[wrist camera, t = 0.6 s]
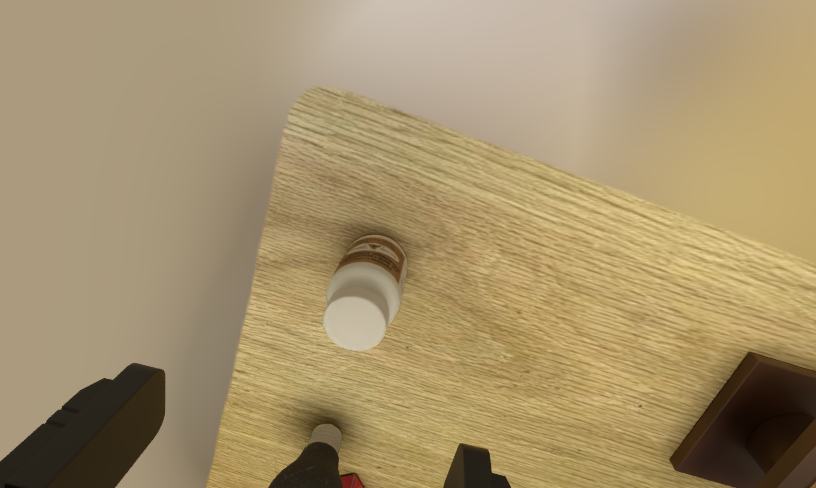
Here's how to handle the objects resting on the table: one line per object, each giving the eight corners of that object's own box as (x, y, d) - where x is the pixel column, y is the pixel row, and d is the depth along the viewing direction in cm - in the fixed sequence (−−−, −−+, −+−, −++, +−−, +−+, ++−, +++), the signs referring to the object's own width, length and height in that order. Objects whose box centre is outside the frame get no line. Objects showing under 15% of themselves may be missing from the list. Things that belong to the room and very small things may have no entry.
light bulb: (284, 427, 37) (229, 549, 28) (322, 389, 35) (277, 507, 26) (336, 462, 38) (300, 591, 29) (376, 427, 36) (352, 553, 27)
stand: (749, 351, 30) (832, 431, 24) (896, 395, 31) (1018, 485, 24) (668, 460, 35) (719, 553, 28) (798, 497, 35) (879, 597, 28)
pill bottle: (409, 234, 29) (396, 291, 22) (407, 292, 31) (394, 362, 24) (344, 230, 29) (310, 284, 22) (345, 288, 31) (314, 355, 24)
